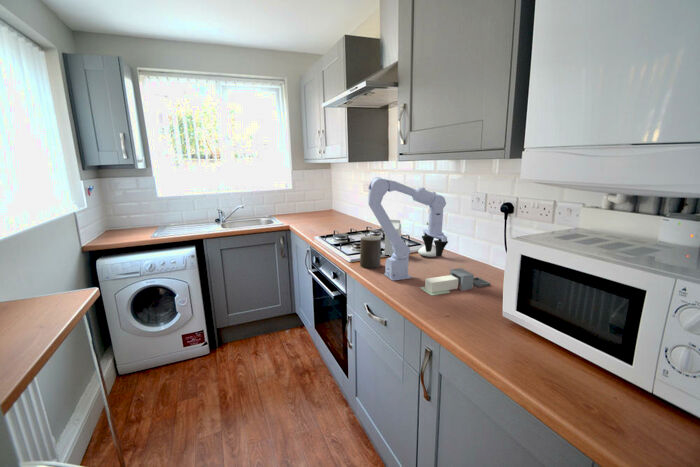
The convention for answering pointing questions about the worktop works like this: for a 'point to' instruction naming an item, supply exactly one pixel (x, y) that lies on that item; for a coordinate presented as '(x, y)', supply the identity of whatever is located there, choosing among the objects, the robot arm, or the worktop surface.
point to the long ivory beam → (441, 283)
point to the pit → (480, 282)
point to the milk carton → (387, 243)
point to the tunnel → (463, 278)
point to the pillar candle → (370, 252)
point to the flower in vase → (429, 254)
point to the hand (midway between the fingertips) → (433, 253)
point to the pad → (434, 292)
